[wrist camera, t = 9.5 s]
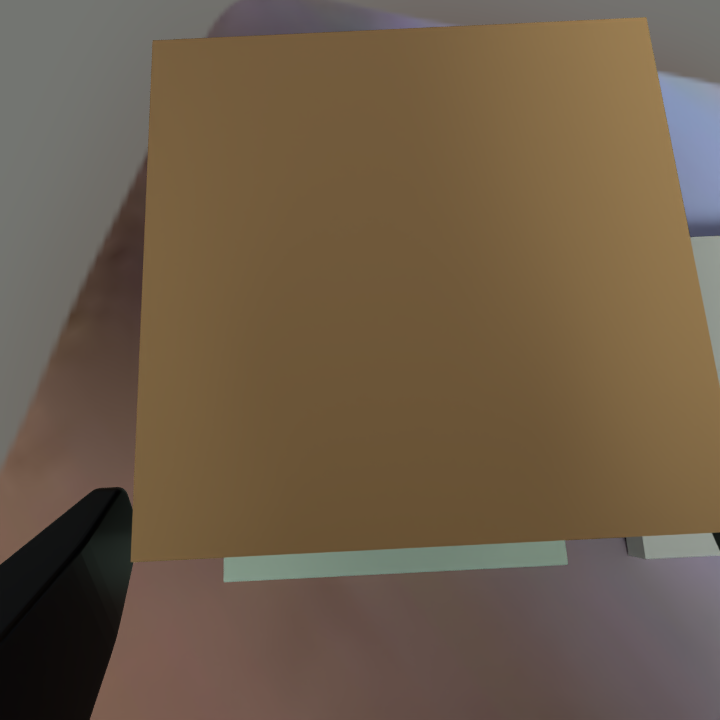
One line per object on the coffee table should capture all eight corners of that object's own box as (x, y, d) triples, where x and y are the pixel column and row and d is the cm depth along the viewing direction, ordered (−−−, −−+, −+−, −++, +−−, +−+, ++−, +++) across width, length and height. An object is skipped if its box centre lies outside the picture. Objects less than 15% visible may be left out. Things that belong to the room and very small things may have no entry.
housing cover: (613, 518, 9) (749, 531, 6) (212, 539, 9) (130, 562, 6) (561, 162, 10) (646, 17, 7) (216, 178, 10) (152, 40, 7)
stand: (555, 560, 16) (567, 564, 15) (232, 576, 16) (223, 582, 15) (519, 259, 18) (527, 246, 17) (233, 273, 18) (226, 260, 17)
